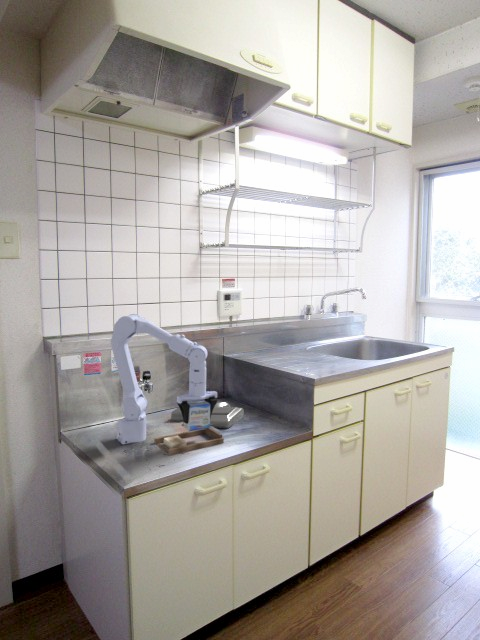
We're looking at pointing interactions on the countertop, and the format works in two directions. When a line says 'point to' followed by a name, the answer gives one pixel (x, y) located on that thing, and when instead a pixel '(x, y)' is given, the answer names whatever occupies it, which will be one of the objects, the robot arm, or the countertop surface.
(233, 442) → the countertop surface
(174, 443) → the offcut top
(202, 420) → the medicine box
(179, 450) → the rack
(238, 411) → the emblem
